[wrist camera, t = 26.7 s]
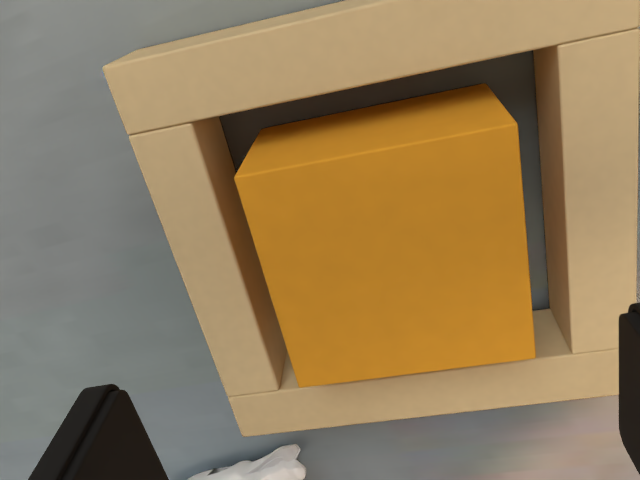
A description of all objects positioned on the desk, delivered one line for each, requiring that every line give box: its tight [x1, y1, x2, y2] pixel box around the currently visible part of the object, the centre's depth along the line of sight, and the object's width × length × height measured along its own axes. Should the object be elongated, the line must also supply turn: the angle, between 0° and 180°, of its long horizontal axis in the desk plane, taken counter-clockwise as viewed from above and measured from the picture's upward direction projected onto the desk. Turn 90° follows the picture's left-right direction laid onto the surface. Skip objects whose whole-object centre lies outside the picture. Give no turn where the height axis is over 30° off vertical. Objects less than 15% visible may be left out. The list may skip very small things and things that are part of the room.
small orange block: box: [234, 83, 536, 388], centre depth 17 cm, size 7×7×4 cm
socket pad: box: [103, 0, 640, 437], centre depth 17 cm, size 13×13×2 cm
